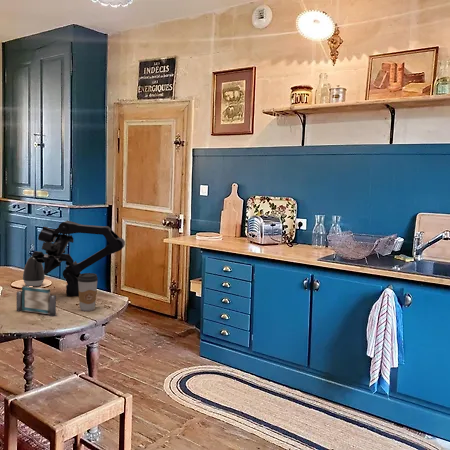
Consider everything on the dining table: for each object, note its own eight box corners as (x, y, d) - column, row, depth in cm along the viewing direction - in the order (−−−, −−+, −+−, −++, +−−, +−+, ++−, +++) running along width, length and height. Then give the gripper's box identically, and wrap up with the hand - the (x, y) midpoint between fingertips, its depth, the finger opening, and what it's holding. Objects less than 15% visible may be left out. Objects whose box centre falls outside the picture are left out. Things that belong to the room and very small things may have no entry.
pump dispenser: (40, 288, 231) (40, 258, 230) (19, 287, 232) (19, 257, 230) (48, 283, 242) (48, 254, 240) (28, 282, 242) (28, 253, 240)
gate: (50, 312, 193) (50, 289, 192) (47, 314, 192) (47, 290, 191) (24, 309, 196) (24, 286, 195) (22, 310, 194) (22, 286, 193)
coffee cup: (79, 312, 197) (79, 277, 196) (75, 307, 205) (76, 273, 203) (99, 310, 201) (99, 276, 199) (95, 305, 208) (95, 272, 207)
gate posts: (56, 314, 193) (57, 295, 192) (53, 316, 191) (53, 297, 190) (19, 309, 197) (19, 290, 196) (15, 311, 195) (15, 292, 194)
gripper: (34, 233, 215) (18, 261, 206) (69, 236, 211) (55, 265, 201) (45, 248, 224) (30, 275, 214) (79, 251, 219) (66, 279, 210)
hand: (44, 273), depth 210 cm, fingers closed
